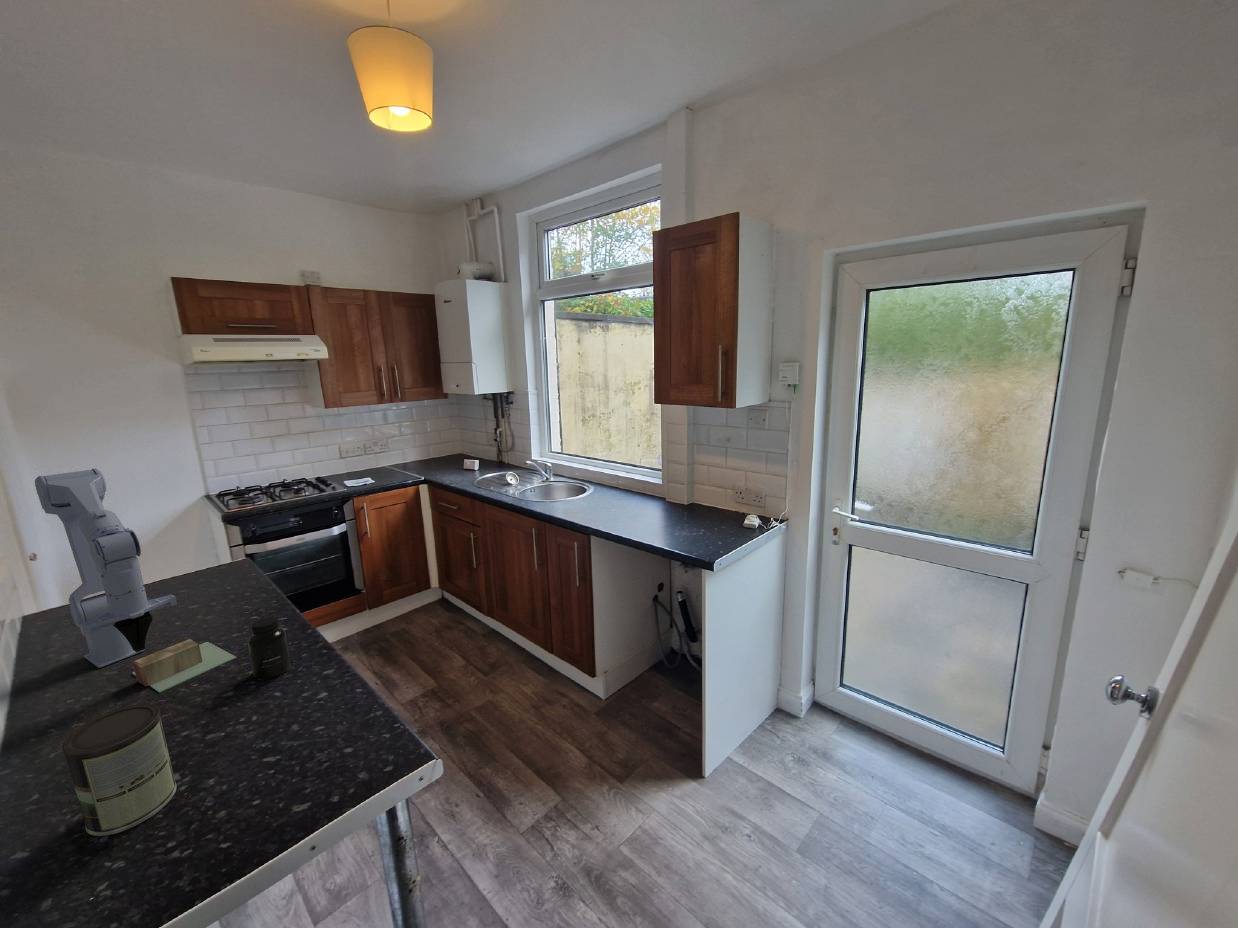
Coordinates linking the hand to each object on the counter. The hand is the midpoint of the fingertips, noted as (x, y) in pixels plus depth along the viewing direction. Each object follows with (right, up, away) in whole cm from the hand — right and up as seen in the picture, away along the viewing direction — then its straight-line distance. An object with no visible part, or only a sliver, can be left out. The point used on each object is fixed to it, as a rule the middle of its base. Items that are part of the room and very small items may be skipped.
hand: (138, 649), depth 105 cm
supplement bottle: (+25, -7, +5) cm, 26 cm away
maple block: (0, -5, 0) cm, 5 cm away
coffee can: (+27, -14, -28) cm, 41 cm away
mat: (+3, -6, +7) cm, 10 cm away
